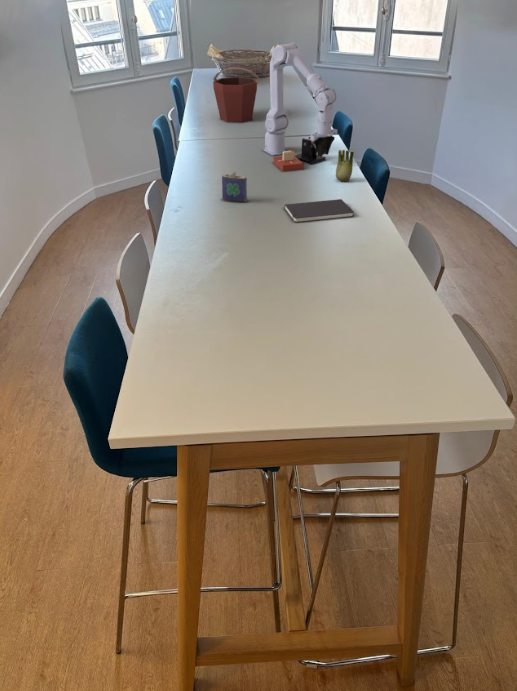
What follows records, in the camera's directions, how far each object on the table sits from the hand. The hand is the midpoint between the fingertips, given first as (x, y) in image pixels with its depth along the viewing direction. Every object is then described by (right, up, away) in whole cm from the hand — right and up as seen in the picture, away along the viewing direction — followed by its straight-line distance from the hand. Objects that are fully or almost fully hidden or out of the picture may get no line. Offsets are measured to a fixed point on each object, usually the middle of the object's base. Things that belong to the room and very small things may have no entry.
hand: (322, 155), depth 242 cm
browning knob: (-15, -3, -2) cm, 15 cm away
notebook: (-6, -34, -42) cm, 55 cm away
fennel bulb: (+6, -15, -15) cm, 23 cm away
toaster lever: (-3, +3, +2) cm, 4 cm away
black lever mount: (-5, 0, +7) cm, 9 cm away
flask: (-36, -28, -32) cm, 56 cm away
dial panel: (-15, -5, 0) cm, 16 cm away
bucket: (-39, +40, +64) cm, 85 cm away
